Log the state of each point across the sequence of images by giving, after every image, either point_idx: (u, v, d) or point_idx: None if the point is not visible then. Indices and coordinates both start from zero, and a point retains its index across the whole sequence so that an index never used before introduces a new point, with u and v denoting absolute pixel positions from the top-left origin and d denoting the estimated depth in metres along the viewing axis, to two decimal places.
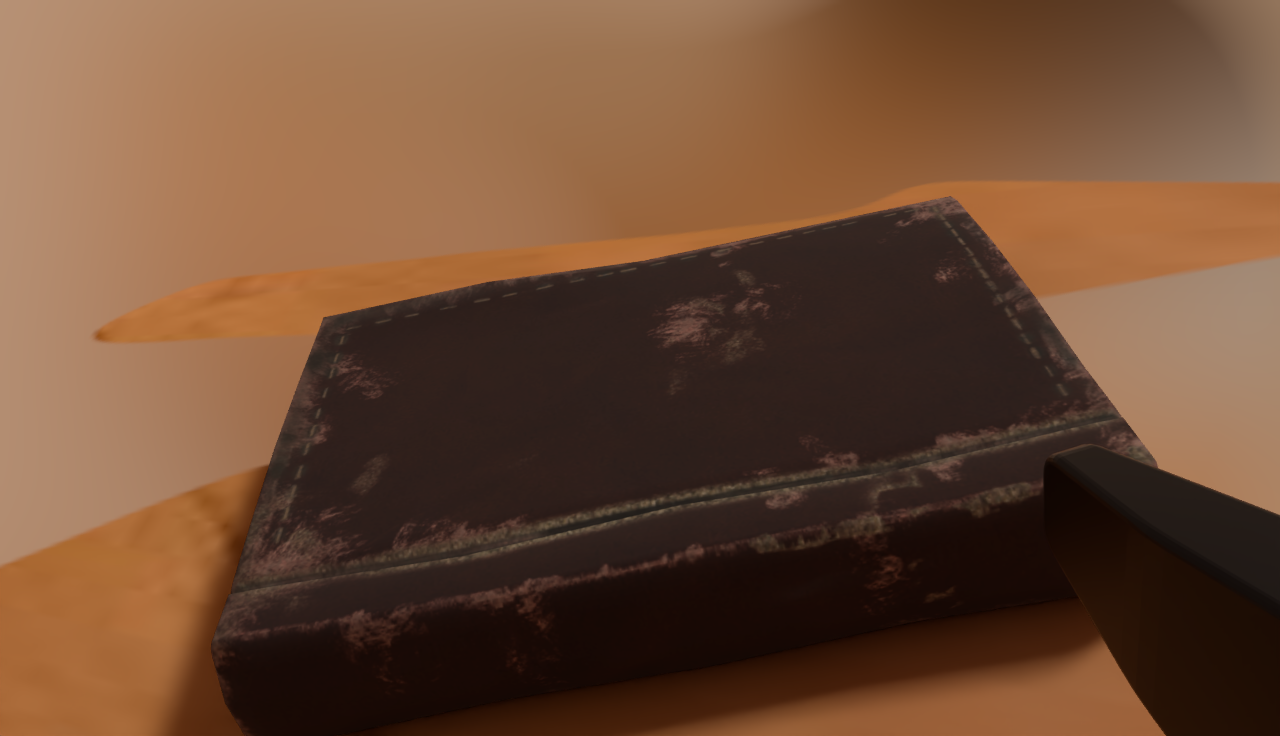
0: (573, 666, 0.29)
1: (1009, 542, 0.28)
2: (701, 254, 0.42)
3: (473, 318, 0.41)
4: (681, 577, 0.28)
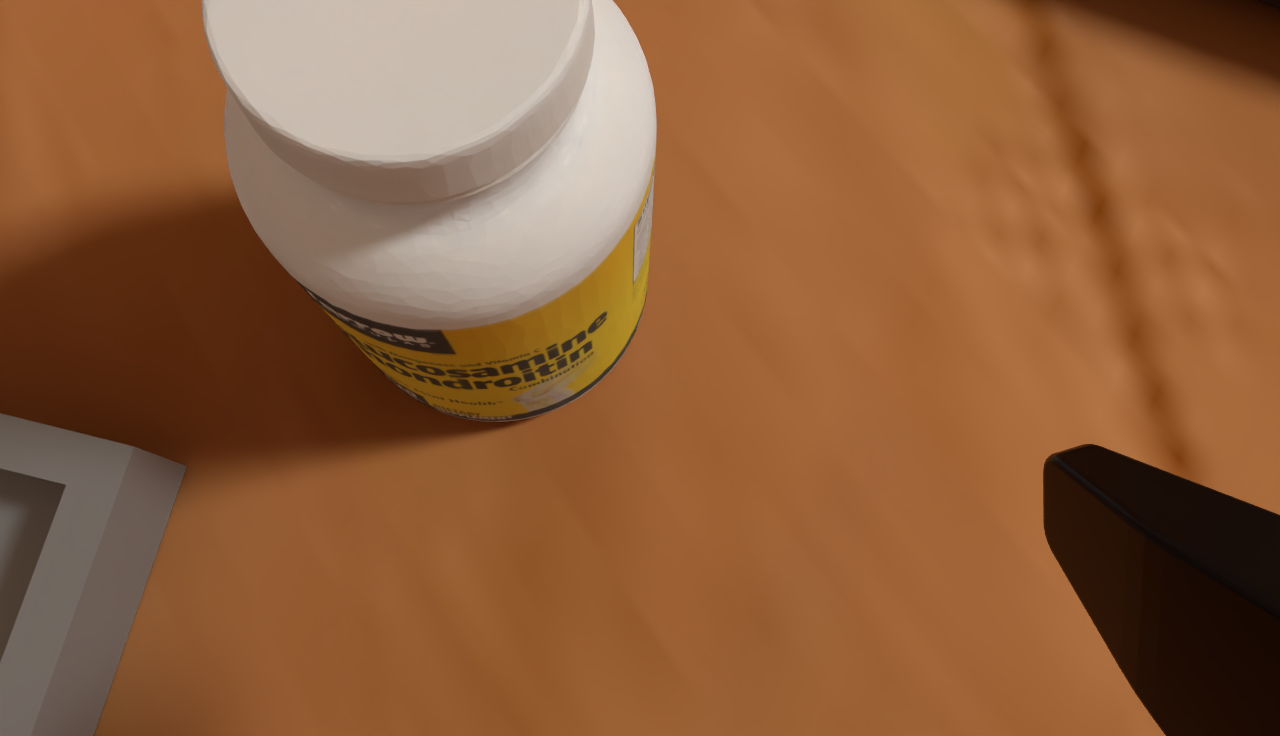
0: None
1: None
2: None
3: None
4: None
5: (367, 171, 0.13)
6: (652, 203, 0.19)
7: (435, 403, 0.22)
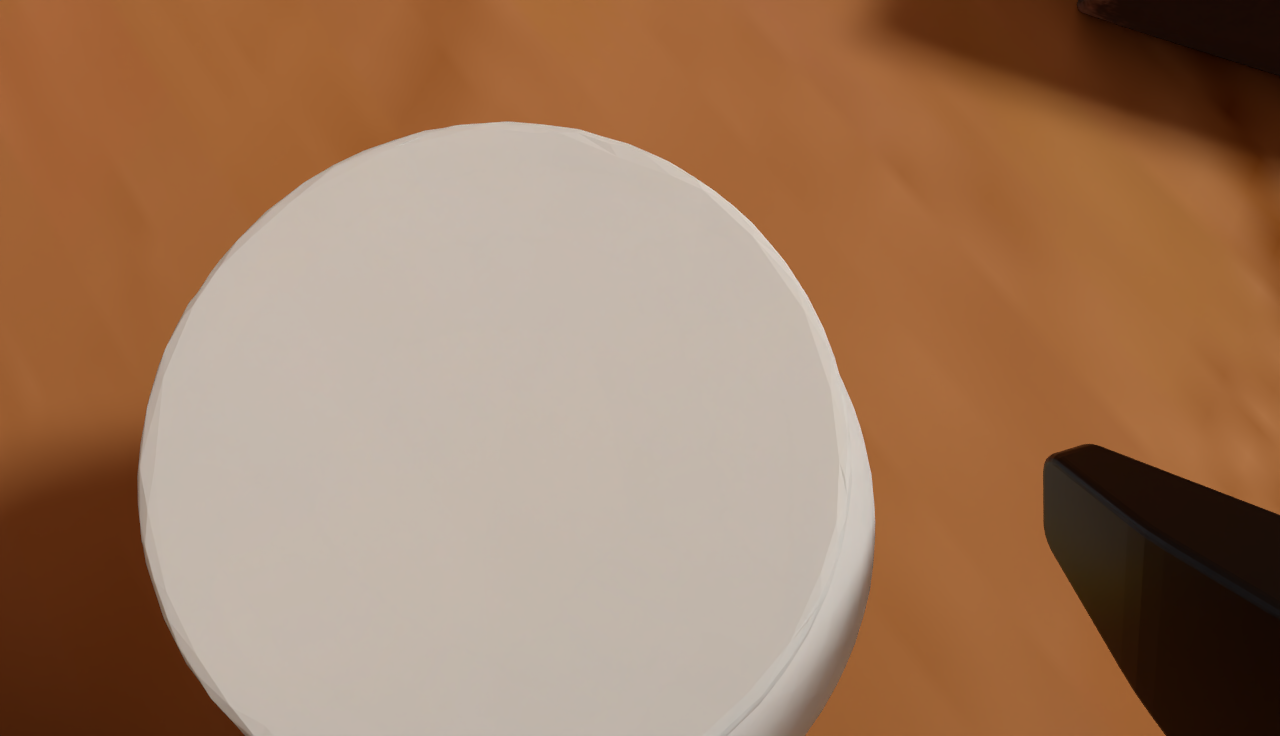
0: None
1: None
2: None
3: None
4: None
5: None
6: None
7: None
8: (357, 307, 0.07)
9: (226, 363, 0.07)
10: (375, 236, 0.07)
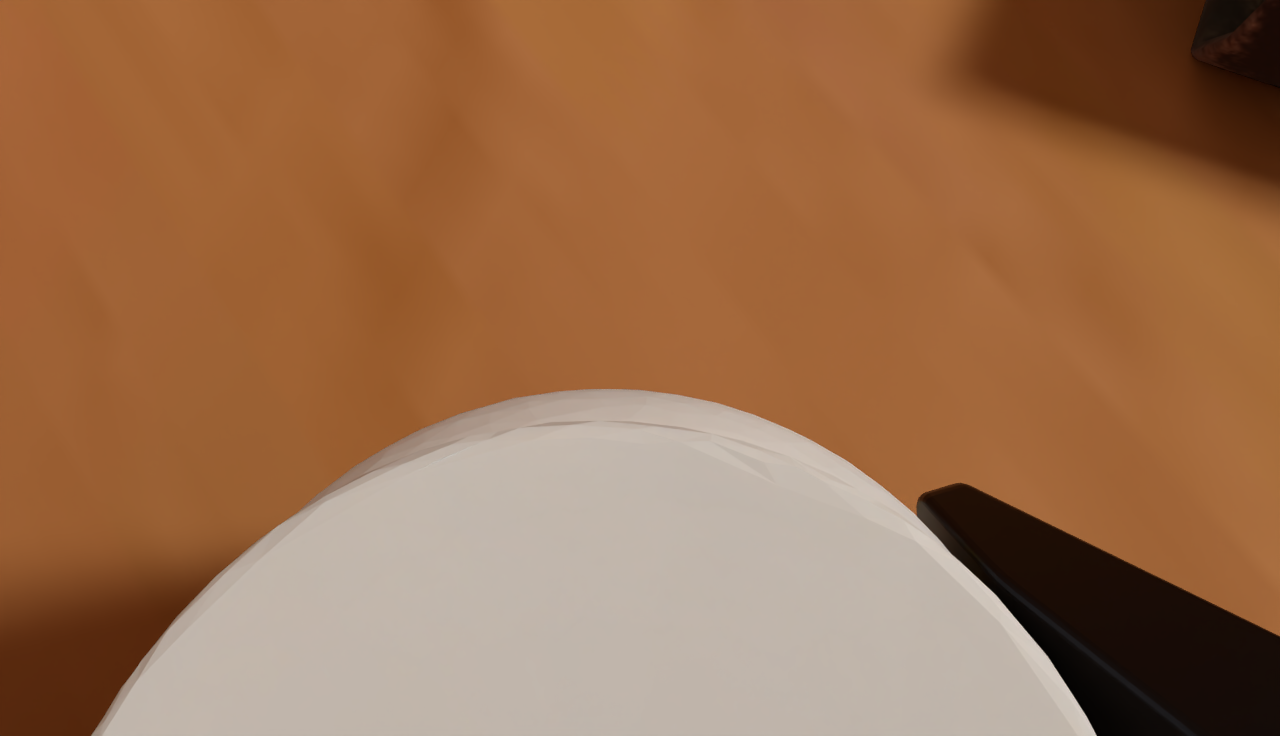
0: None
1: None
2: None
3: None
4: None
5: None
6: None
7: None
8: None
9: None
10: (390, 623, 0.05)
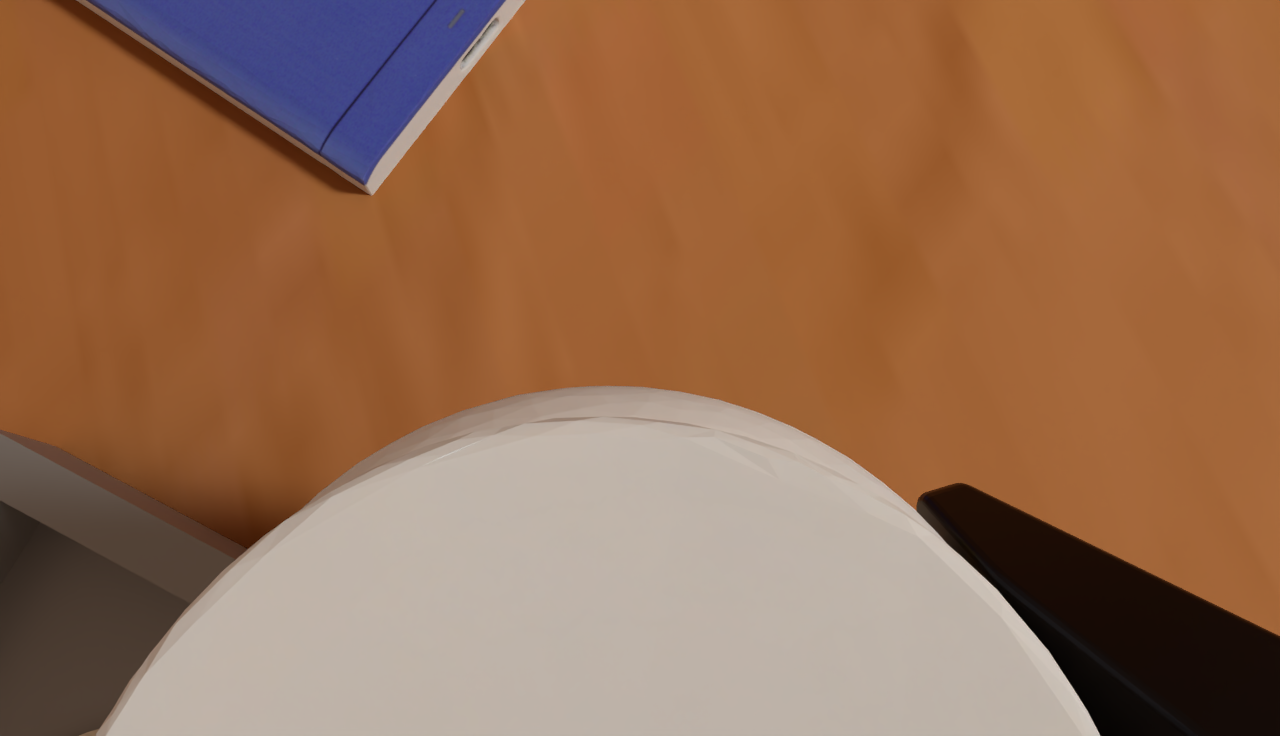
0: None
1: None
2: None
3: None
4: None
5: None
6: None
7: None
8: None
9: None
10: (397, 616, 0.05)
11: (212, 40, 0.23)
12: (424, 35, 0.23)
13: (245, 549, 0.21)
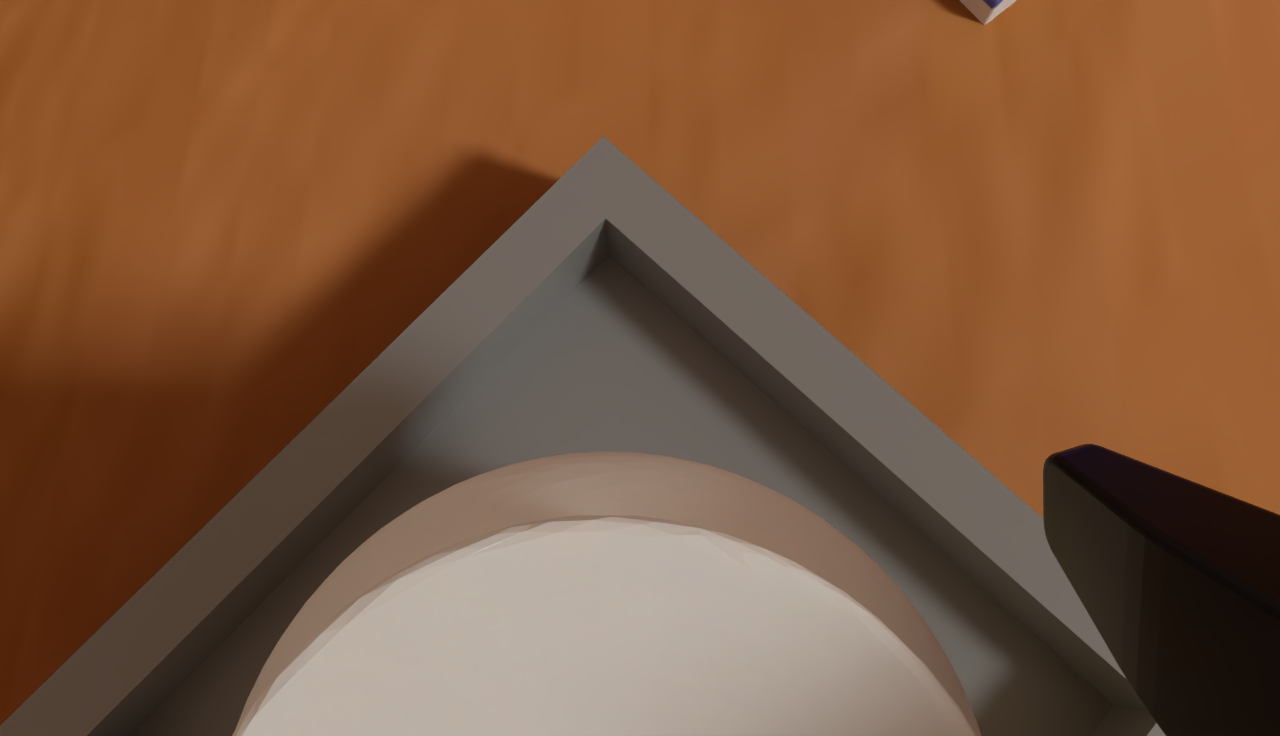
0: None
1: None
2: None
3: None
4: None
5: None
6: None
7: None
8: None
9: None
10: (449, 675, 0.06)
11: None
12: None
13: None
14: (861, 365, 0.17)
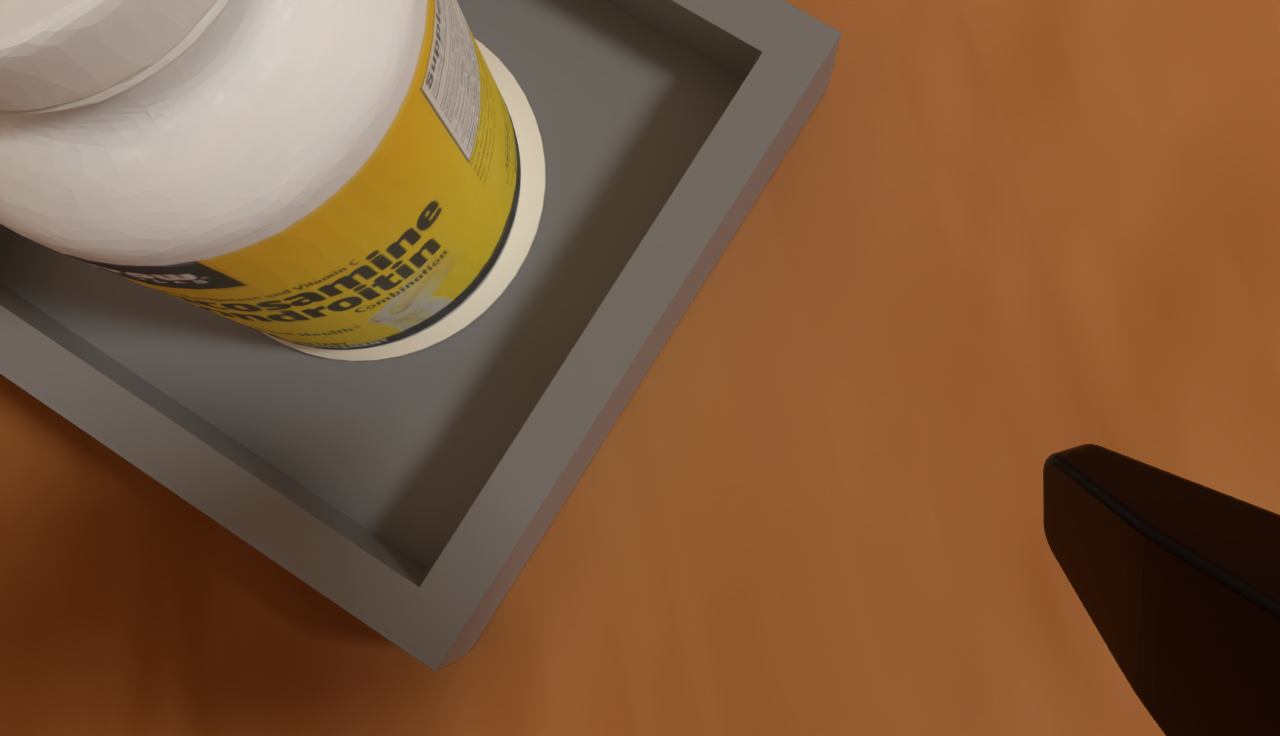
0: None
1: None
2: None
3: None
4: None
5: None
6: (464, 58, 0.15)
7: (292, 339, 0.19)
8: None
9: None
10: None
11: None
12: None
13: None
14: None
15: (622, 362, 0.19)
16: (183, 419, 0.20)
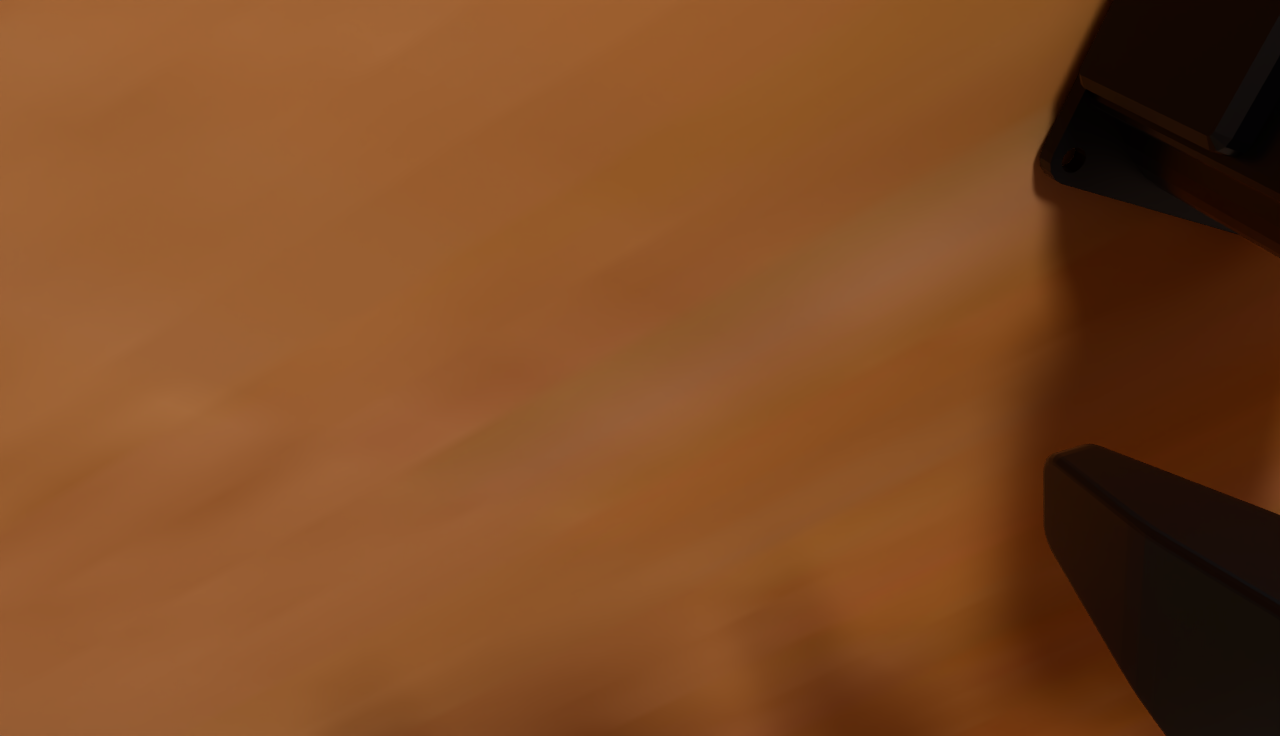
0: None
1: None
2: None
3: None
4: None
5: None
6: None
7: None
8: None
9: None
10: None
11: None
12: None
13: None
14: None
15: None
16: None
